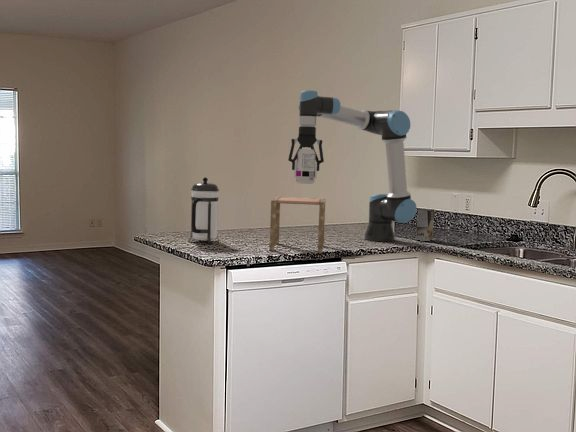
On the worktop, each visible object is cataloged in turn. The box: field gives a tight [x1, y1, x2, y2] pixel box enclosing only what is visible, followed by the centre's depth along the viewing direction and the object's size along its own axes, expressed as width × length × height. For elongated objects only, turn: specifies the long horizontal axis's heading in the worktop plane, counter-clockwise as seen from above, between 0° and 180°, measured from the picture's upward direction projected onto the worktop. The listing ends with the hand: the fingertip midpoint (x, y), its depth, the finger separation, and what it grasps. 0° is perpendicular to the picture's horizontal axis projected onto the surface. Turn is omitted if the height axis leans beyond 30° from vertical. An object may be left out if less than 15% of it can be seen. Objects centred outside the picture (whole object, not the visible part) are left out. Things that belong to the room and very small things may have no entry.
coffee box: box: [415, 208, 435, 242], centre depth 351 cm, size 9×6×16 cm
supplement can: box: [295, 148, 316, 185], centre depth 304 cm, size 8×8×15 cm
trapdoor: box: [277, 196, 320, 206], centre depth 310 cm, size 18×18×2 cm
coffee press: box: [187, 176, 220, 245], centre depth 318 cm, size 17×16×30 cm
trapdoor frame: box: [269, 196, 326, 254], centre depth 311 cm, size 23×23×22 cm
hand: (305, 178), depth 305 cm, fingers closed on supplement can, 8 cm apart
